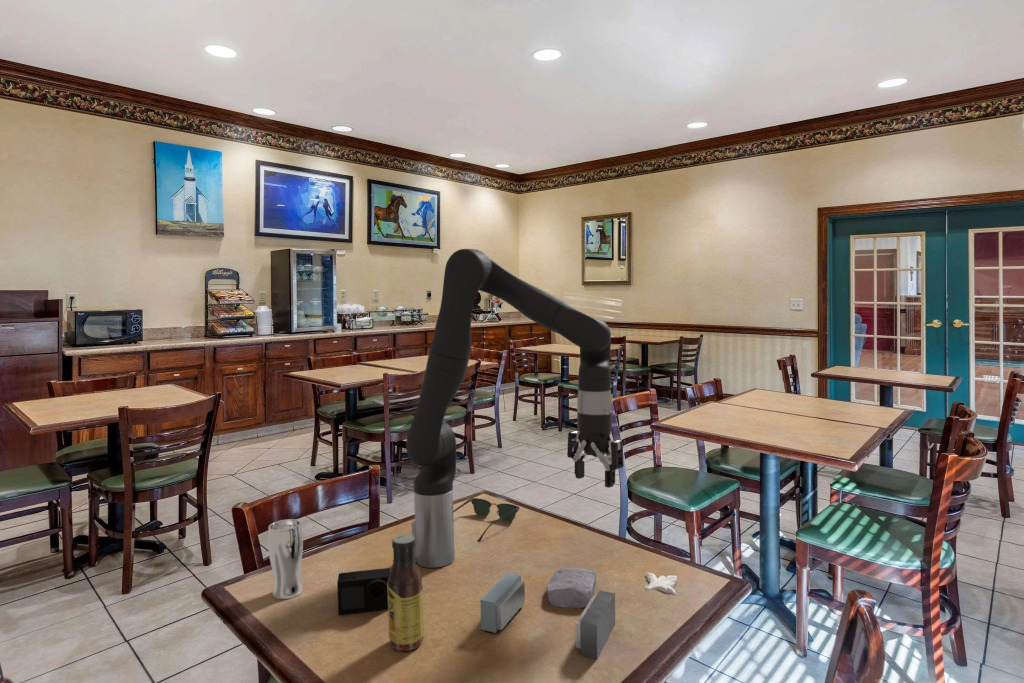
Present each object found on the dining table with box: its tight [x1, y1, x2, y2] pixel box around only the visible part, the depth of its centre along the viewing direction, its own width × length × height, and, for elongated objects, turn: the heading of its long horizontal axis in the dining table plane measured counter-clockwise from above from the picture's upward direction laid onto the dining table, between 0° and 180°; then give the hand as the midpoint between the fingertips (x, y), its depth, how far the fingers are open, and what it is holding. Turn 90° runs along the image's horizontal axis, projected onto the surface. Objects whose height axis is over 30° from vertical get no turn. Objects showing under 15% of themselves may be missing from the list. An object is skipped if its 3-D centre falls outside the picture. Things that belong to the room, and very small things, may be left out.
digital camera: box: [336, 567, 391, 616], centre depth 118 cm, size 10×5×7 cm, turn 102°
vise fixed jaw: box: [575, 590, 616, 660], centre depth 106 cm, size 4×12×6 cm, turn 155°
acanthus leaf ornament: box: [643, 572, 678, 596], centre depth 126 cm, size 8×7×2 cm
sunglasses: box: [453, 497, 520, 542], centre depth 161 cm, size 16×17×5 cm
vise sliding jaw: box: [479, 572, 526, 634], centre depth 114 cm, size 4×12×6 cm, turn 155°
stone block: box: [546, 567, 597, 609], centre depth 123 cm, size 12×5×10 cm
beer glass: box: [267, 518, 304, 600], centre depth 125 cm, size 7×7×15 cm
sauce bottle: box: [387, 533, 425, 652], centre depth 105 cm, size 6×6×20 cm
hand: (594, 482), depth 129 cm, fingers open, 8 cm apart
